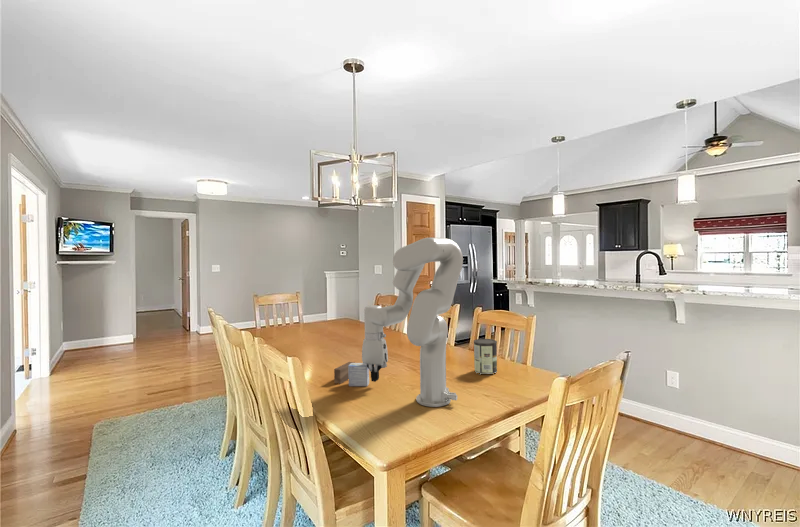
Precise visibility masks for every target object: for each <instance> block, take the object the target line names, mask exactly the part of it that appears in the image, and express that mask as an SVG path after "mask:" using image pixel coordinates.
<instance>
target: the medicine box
mask: <svg viewBox="0 0 800 527" xmlns="http://www.w3.org/2000/svg"><path fill="white" fill-rule="evenodd" d="M348 372H349V380H348V387H368V386H369V384H370V371H369V368H368V367H367V366H364V365H363V362H355V363H351V364H350V365H349V366H348Z"/></svg>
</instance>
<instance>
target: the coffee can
mask: <svg viewBox="0 0 800 527" xmlns="http://www.w3.org/2000/svg"><path fill="white" fill-rule="evenodd" d="M497 342H498V341H497V340H496V339H491V338H477V339H474V340H473V350H474V351H473V356H474V358H473V359H474V367H473V368H474V370H475V372H476V373H475V372H474V373H475V374H477V373H480V374H479V375H481V374H493V373H496V372H497V373H498V357H497V355H498V354H497V349H498V348H497V346H498V345H497ZM497 373H496V374H497ZM493 375H494V374H493Z"/></svg>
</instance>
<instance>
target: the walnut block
mask: <svg viewBox="0 0 800 527" xmlns="http://www.w3.org/2000/svg"><path fill="white" fill-rule="evenodd" d="M351 363H356V362H355V361H348V362H346V363H344V364H342V365H339V366H338V367H336V368H334V370H333V372H334V374H333V376H334V384H337V383H339V385H342V384H343V383H344V382H347V381H349V380H348V379H349V372H348V366H349V365H350V364H351Z"/></svg>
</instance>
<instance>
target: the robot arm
mask: <svg viewBox="0 0 800 527" xmlns="http://www.w3.org/2000/svg"><path fill="white" fill-rule="evenodd" d="M463 256H464V254H463V252H462V250H461V248H460V247H459V245H458V244H457V242H455V241H453V239H450V238H446V237H423V238H421V239H419V240H417V241H414V242H412V243H410V244H407V245H405V246H402V247H400V248H398V249H397V250H396V251H395V253H394V255H393V256H392V263H393V267H394V268H395V269H396V270H397V271H396V273H395V275H394V277H393V279H392V285H393V286H394V288H395V289H397V290H398V295H397V299H396V300H395V303H394V304H393V305H387V306H383V307H382V306H381V305H375V304H374V305H373V304H371V305H367V306H365V307H364V311H363V313H364V314H363V316H364V339H363V340H362V347H361V349H362V350H361V360H362V363H363V365H364V366H367V367H368V368H369V373H370V379H371V380H370V381H371V382H374V383H376V382H378V380H379V378H380V371H381V369H385V368H387V367H388V361H389V356H388V354H389V353H388V352H389V351H388V346H387V341H386V337H387V334H386V333H385V332H384V327H389V326H392V325H397V324H400V323H402V322H404V321H405V320H406V318H407V317H408V315H409V319H408V323H407V325H406V326H407V327H406V336H407V338H408V340H409V342H410V343H411V345H413V346H416V347H420V349H419V375H420V376H419V377H420V378H419V381H420V382H419V384H420V385H419V387H420V388H419V389H420V394H419V393H418V395H417V396H416V397H415V398H416V402H417V404H419V405H421V406H424V407H431V408H439V407H444V406H446V405H449V404H450V403H451V401H457V400H458V394H457V392H453V391H452V392H451V391H450V390H449V387H447V340H448V332H449V330H448V329H449V326H448V324H447V321H446V320H445V319H444V317H442V315H443V314H445V313H448V311H450V309H451V307H452V305H453V304H452V303H453V301H454V297H455V294H456V290H457V284H458V281H459V277H460V274H461V272H462V269H463V264H464V258H463ZM434 262H436V263H437V262H439V265H438V268H437V269H436V271H435V274H434V276H433V281H432V284H431V287H430V288H428V289H423V290H421V291H420V292H419V293H418V294H417V295H416V296H415V298H414V288H415V286H416V284H417V282H418V280H419V278H420V275H421V273H422V272H423V270H424V267H425V266H426V264H428V263H434ZM409 313H410V314H409Z"/></svg>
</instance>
